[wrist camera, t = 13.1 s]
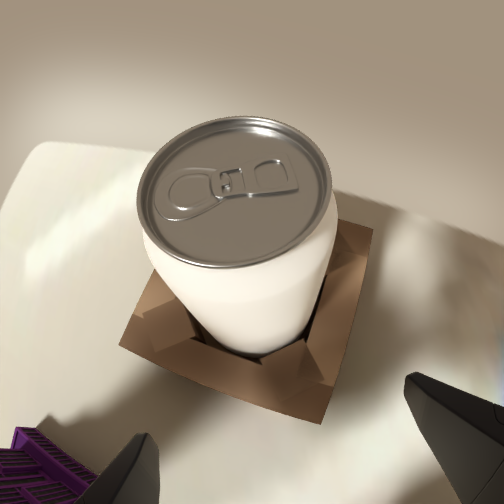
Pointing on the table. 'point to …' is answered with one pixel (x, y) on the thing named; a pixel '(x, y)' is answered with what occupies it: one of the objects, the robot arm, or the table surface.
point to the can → (241, 228)
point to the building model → (40, 472)
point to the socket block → (274, 365)
